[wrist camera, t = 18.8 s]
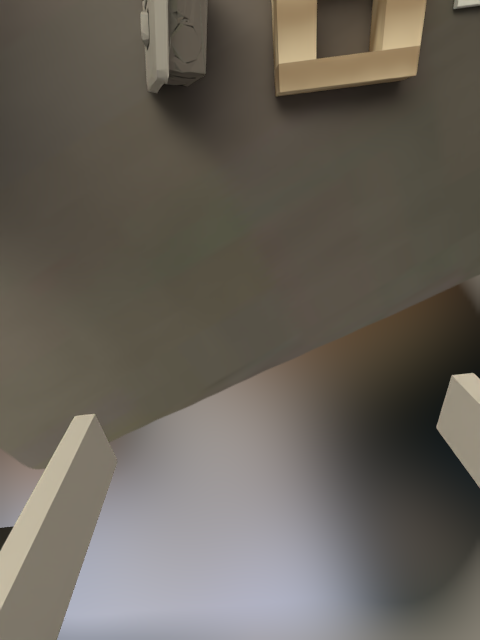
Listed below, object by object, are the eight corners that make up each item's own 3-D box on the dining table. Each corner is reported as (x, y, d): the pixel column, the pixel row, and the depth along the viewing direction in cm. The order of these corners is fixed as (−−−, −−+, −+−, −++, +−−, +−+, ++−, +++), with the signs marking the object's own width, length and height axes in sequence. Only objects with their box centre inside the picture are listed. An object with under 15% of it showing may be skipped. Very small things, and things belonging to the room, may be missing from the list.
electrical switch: (141, -49, 25) (117, -133, 17) (205, -37, 26) (210, -112, 18) (148, 93, 30) (131, 77, 22) (202, 99, 31) (205, 87, 23)
